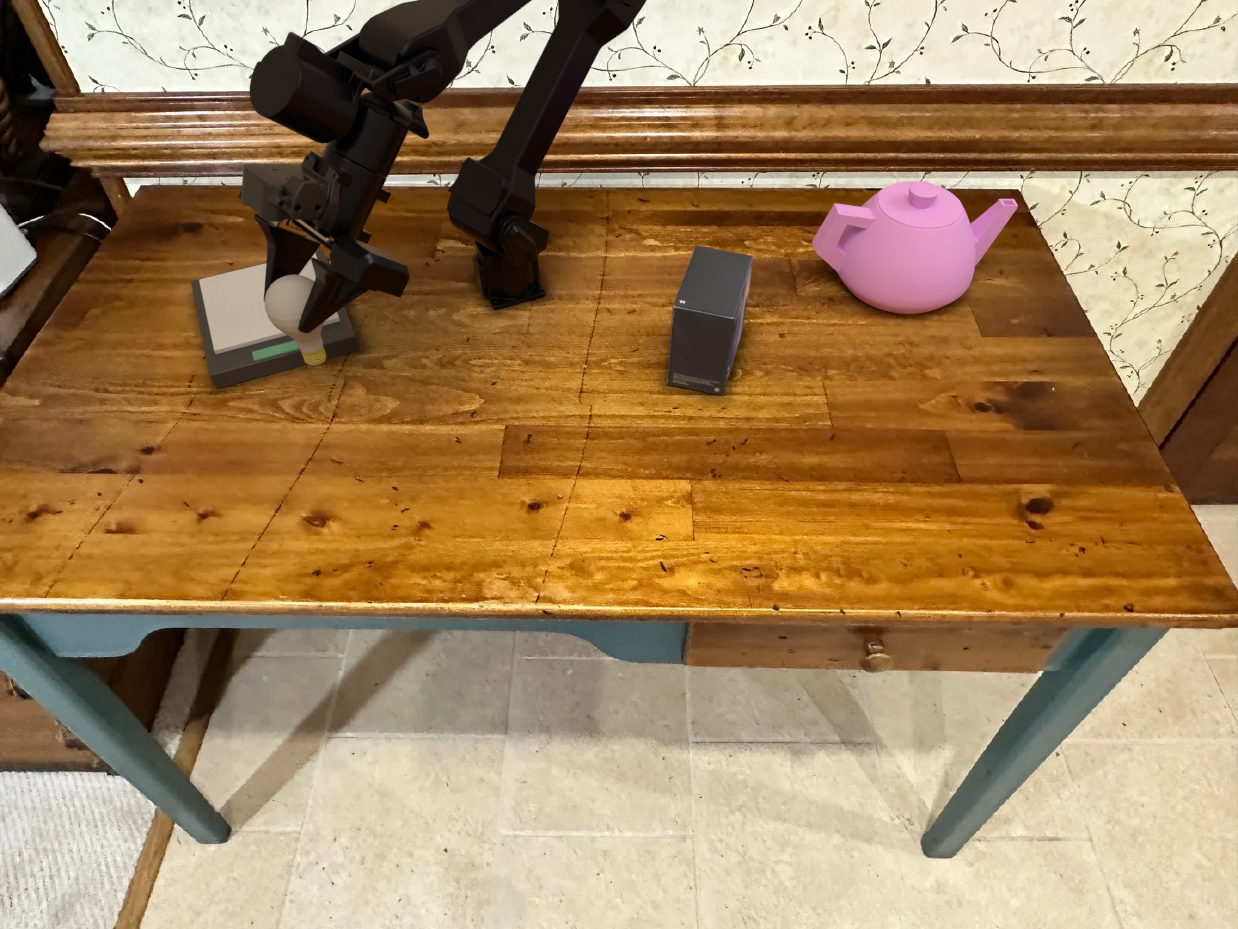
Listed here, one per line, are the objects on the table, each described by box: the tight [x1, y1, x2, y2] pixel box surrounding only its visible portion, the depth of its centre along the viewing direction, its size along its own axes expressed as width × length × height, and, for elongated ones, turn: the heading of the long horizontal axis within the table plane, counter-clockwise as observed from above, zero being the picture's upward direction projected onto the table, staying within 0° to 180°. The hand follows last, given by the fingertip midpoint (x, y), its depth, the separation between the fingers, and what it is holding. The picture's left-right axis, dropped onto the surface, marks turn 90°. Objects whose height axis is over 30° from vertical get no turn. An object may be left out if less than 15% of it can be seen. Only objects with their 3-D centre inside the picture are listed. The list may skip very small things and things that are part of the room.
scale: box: [190, 248, 360, 390], centre depth 97 cm, size 15×17×3 cm
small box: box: [665, 245, 754, 396], centre depth 90 cm, size 11×6×10 cm, turn 164°
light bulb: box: [265, 275, 327, 366], centre depth 83 cm, size 6×6×10 cm
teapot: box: [811, 180, 1019, 315], centre depth 98 cm, size 22×16×12 cm
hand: (285, 317), depth 81 cm, fingers closed on light bulb, 5 cm apart
